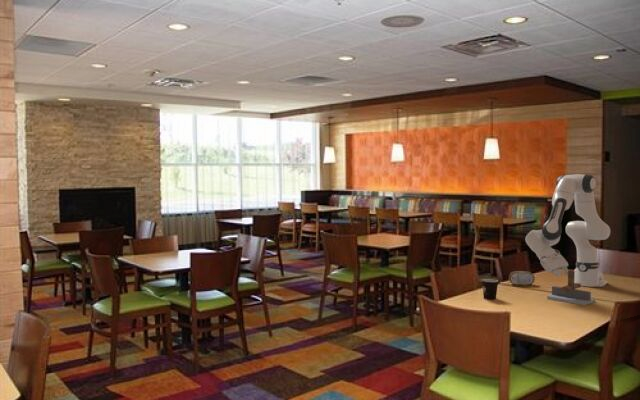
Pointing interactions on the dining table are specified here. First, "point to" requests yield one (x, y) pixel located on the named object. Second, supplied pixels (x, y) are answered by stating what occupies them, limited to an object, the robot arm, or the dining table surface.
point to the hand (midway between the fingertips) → (564, 275)
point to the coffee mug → (489, 288)
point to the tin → (521, 278)
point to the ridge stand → (571, 296)
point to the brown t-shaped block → (570, 282)
